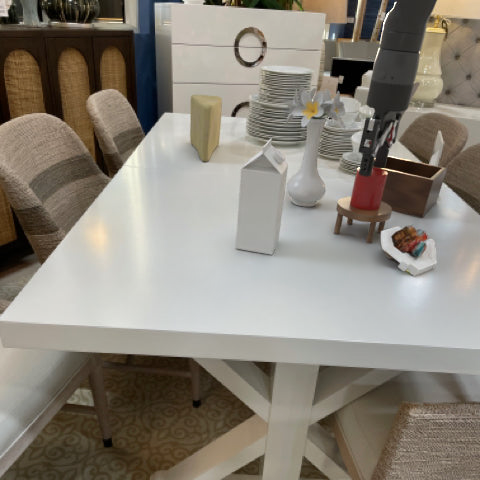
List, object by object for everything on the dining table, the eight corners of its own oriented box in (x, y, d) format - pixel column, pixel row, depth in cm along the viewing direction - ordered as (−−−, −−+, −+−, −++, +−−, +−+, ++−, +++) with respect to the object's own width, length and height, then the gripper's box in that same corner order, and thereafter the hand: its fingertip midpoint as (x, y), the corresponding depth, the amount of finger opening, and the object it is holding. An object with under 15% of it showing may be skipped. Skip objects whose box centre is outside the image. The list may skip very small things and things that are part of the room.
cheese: (221, 163, 137) (224, 107, 129) (188, 161, 136) (188, 105, 128) (219, 144, 155) (222, 94, 147) (190, 143, 154) (190, 92, 146)
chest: (436, 203, 120) (447, 168, 115) (422, 218, 110) (433, 180, 105) (373, 188, 127) (380, 154, 122) (354, 200, 117) (362, 164, 112)
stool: (391, 232, 101) (399, 205, 98) (374, 248, 93) (381, 219, 90) (344, 218, 106) (349, 192, 103) (324, 233, 98) (329, 205, 95)
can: (383, 205, 97) (392, 171, 93) (373, 212, 93) (382, 177, 89) (356, 198, 100) (363, 164, 96) (345, 205, 95) (352, 170, 92)
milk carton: (235, 249, 88) (242, 144, 78) (243, 235, 94) (251, 135, 84) (272, 255, 87) (284, 150, 77) (278, 241, 93) (291, 140, 83)
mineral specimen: (389, 231, 96) (408, 203, 91) (437, 266, 92) (459, 238, 87) (360, 252, 88) (378, 223, 83) (411, 291, 85) (432, 262, 80)
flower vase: (321, 190, 122) (339, 83, 108) (335, 217, 106) (358, 96, 93) (271, 187, 121) (283, 79, 107) (278, 213, 106) (293, 91, 92)
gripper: (401, 85, 77) (378, 183, 86) (424, 80, 87) (401, 168, 96) (358, 79, 80) (340, 174, 89) (385, 74, 90) (366, 160, 99)
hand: (372, 171), depth 93 cm, fingers open, 8 cm apart
